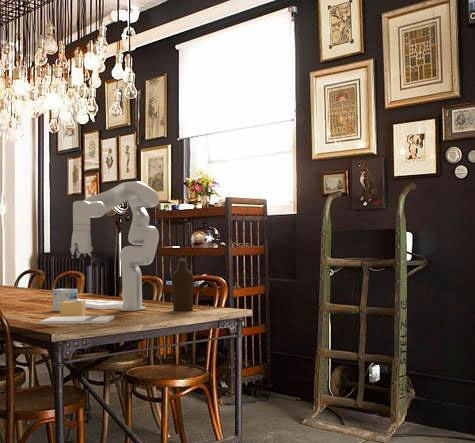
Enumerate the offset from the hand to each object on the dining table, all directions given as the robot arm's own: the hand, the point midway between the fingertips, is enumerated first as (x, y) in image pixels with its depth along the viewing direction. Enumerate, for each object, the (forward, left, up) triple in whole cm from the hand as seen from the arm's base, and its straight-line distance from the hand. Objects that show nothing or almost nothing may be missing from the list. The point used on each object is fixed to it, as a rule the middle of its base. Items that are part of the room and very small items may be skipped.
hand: (82, 266), depth 288 cm
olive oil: (-27, +42, -23) cm, 55 cm away
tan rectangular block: (-6, -6, -23) cm, 25 cm away
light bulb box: (-33, -18, -23) cm, 44 cm away
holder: (-57, -9, -24) cm, 62 cm away
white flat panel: (+10, +1, -23) cm, 25 cm away
